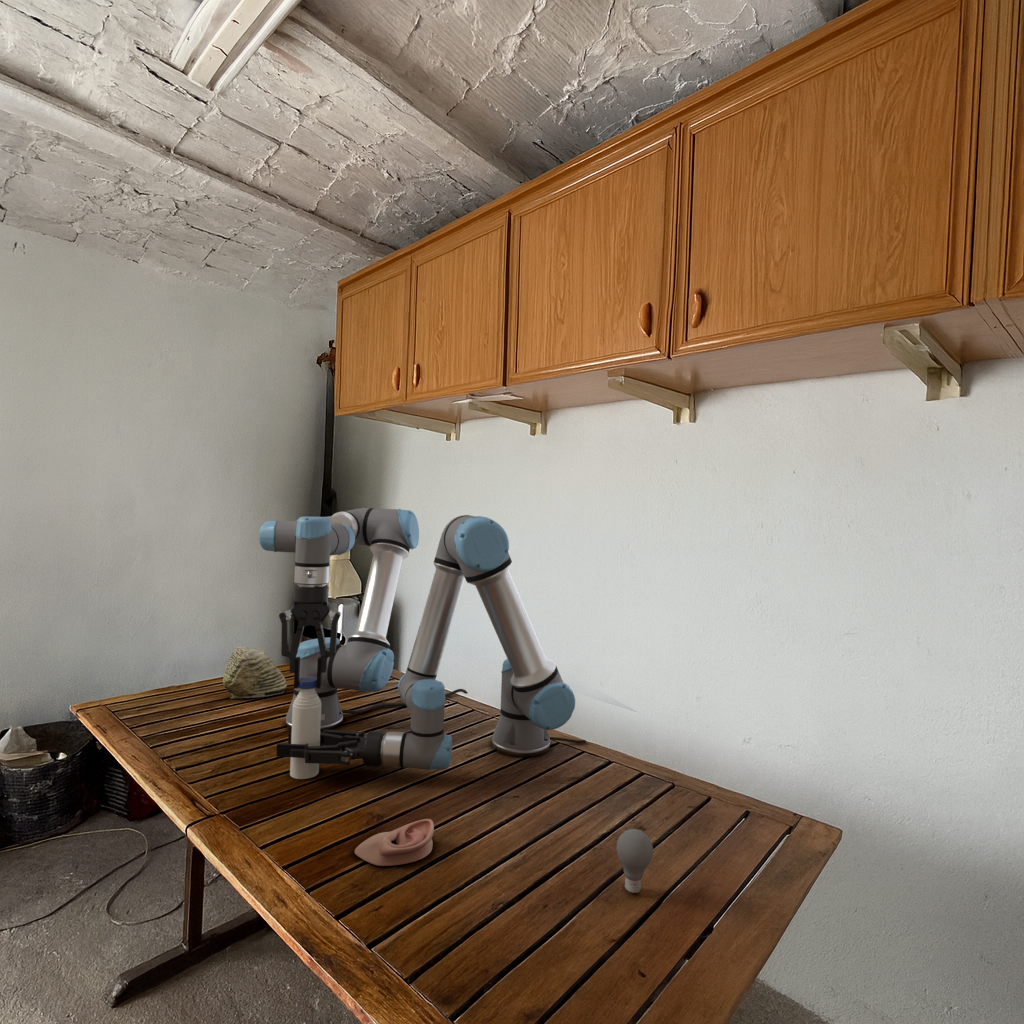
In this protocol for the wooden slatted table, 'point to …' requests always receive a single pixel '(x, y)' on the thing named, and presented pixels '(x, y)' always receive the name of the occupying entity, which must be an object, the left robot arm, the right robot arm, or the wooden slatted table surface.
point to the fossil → (252, 674)
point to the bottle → (305, 731)
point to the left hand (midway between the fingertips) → (307, 686)
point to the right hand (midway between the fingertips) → (283, 743)
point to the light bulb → (634, 857)
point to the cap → (307, 682)
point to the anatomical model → (398, 844)
